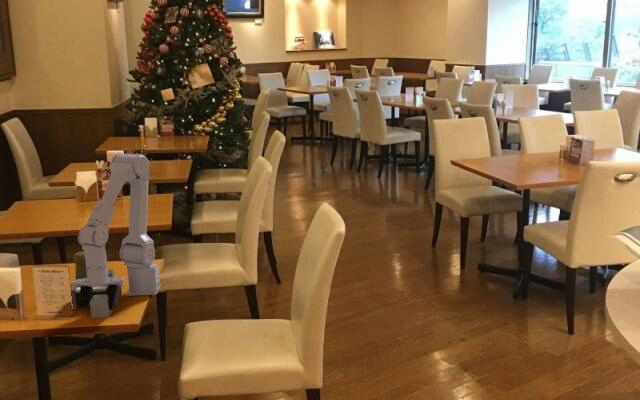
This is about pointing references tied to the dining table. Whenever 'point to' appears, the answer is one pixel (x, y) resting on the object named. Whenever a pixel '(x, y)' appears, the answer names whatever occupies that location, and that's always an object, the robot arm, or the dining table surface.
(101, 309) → the grey cube
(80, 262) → the olive green cylinder
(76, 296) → the trapdoor frame
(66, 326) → the dining table surface
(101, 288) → the trapdoor flap
